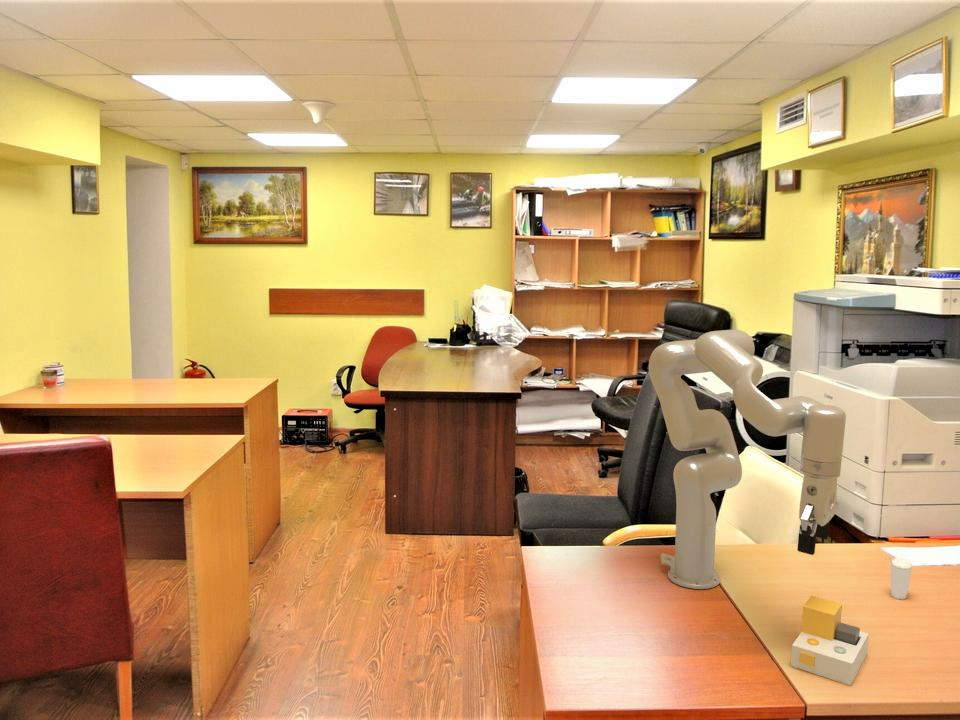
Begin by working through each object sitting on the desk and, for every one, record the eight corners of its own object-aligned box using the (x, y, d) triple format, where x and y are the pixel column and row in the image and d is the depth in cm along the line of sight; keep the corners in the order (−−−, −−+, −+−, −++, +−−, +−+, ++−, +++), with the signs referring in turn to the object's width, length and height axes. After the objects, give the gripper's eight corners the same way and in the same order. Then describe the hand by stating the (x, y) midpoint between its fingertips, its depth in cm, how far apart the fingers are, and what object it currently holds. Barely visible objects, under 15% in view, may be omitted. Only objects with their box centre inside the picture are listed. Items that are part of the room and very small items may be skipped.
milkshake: (880, 592, 182) (883, 553, 181) (901, 591, 183) (905, 552, 181) (892, 601, 178) (895, 561, 176) (914, 600, 178) (917, 560, 177)
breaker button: (834, 648, 153) (836, 629, 153) (839, 640, 156) (840, 622, 155) (854, 654, 151) (855, 635, 150) (858, 646, 154) (859, 628, 153)
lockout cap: (801, 631, 156) (803, 606, 155) (809, 620, 160) (811, 595, 160) (832, 640, 152) (834, 615, 151) (840, 628, 157) (842, 603, 156)
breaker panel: (790, 666, 151) (791, 644, 150) (810, 637, 162) (811, 616, 162) (850, 686, 144) (852, 662, 144) (867, 654, 156) (868, 632, 155)
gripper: (828, 481, 146) (820, 564, 149) (851, 459, 159) (843, 536, 162) (788, 472, 150) (780, 553, 153) (813, 452, 163) (806, 527, 167)
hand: (812, 544), depth 158 cm, fingers open, 9 cm apart
